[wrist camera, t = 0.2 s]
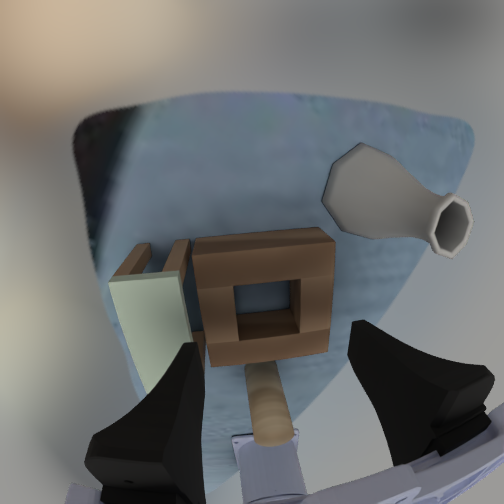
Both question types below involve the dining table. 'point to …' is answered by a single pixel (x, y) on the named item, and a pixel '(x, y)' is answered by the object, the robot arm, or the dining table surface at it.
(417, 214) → the flask
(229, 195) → the dining table surface
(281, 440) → the peg
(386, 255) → the dining table surface
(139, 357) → the bench
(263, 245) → the socket
